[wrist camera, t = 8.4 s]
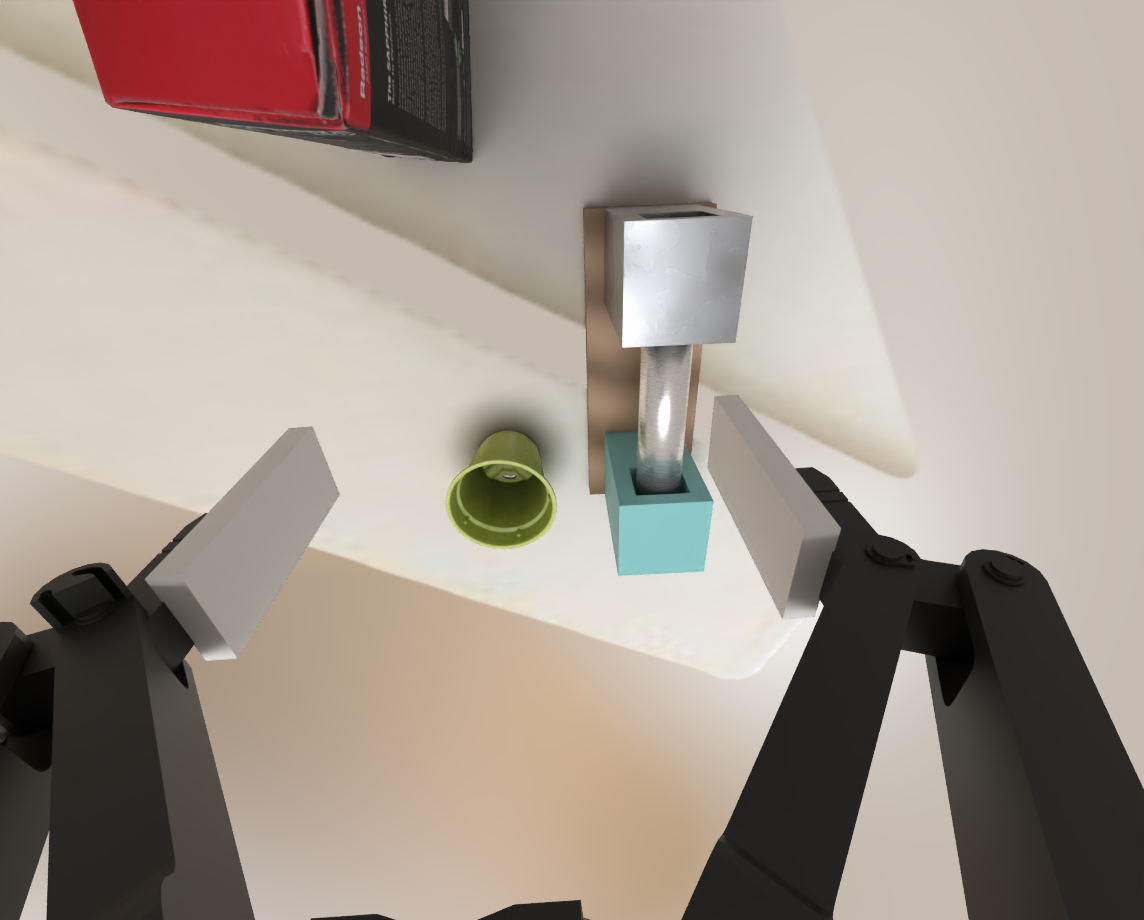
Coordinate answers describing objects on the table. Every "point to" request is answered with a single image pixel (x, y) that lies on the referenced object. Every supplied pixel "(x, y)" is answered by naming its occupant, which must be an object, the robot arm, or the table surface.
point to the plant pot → (502, 494)
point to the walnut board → (614, 359)
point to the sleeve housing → (674, 273)
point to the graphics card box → (294, 68)
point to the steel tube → (662, 418)
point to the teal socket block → (654, 515)
